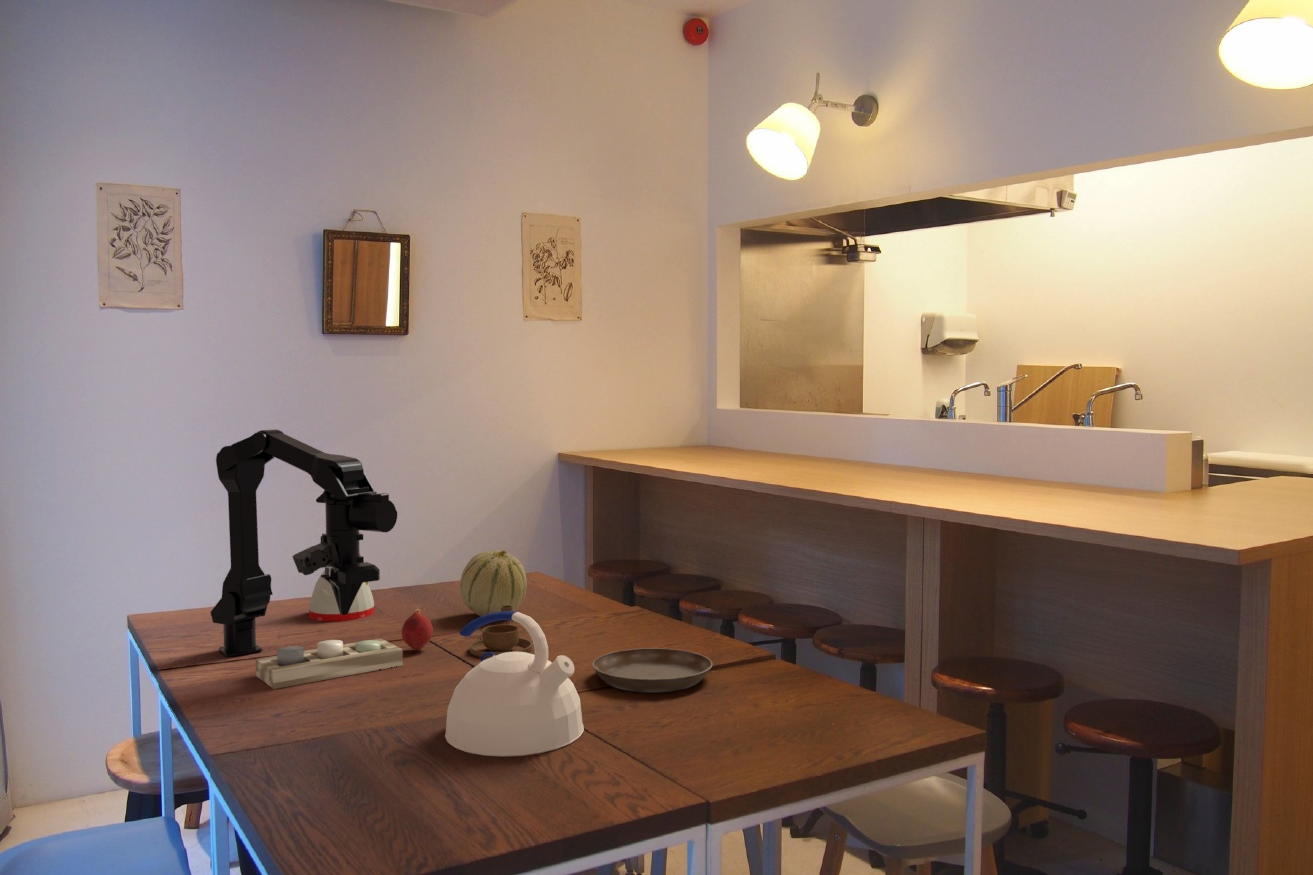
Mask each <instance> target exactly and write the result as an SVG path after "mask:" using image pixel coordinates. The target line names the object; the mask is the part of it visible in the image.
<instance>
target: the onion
mask: <svg viewBox="0 0 1313 875" xmlns="http://www.w3.org/2000/svg"><path fill="white" fill-rule="evenodd" d="M433 633H434V629H433V624H432V622H431V621H430V620H429V618H428V617H427V616H425V615H424V614H422V610H421V609H419V608H417V609H415V610H414V612H413V613H412V614H411V615H410V616H409V617H408V618H407V619H406V620H405V621H404V623H403V625H402V627H401V637H402V639H403V641H404V643H405V644H407V646H408V647H410V648H411V649H413V650H415V651H416V652H419V651H421V650H422V649H423V648H424V647H425V646H427V644H429V642H430V641H431V640H432V638H433Z"/></svg>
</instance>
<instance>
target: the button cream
mask: <svg viewBox="0 0 1313 875" xmlns="http://www.w3.org/2000/svg"><path fill="white" fill-rule="evenodd" d="M343 645H344V642H343V640H339V639H327V640H321V641H319V642H316V649H317V658H318V659H328V658H334V657H340V656H343Z"/></svg>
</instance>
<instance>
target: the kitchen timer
mask: <svg viewBox="0 0 1313 875" xmlns="http://www.w3.org/2000/svg"><path fill="white" fill-rule="evenodd" d="M321 575H325V570H323V571H322V573H321V574H320V576H319V577H318V579H317V581H316V583H315V584H314V589H313V591H312V594H311V598H310V602H309V608H308V610H309V611H308V613H309V615H308V616H309V617H308V618H310V619H311V620H313V619H314V621H318V622H319V621H320V622H345V621H346V622H347V621H353V620H354V619H355V620H359V619H358V618H361V619H364V617H365V618H368V617H370V616H369V615H371V616H373V615H374V614H375V600H374V597H373V593H372V590H371V588H370V584H369V582H363V583H362V585H361V587H360V589H359V591H358V593H357V595H356V597H355V599H354V601H353V603H352V606H351V608H350V610H349V612H348V614H347V615H341V614H340V612H339V608H338V605H337V602H336V599H335V595H334V592H333V589H332V586H331V584H330V583H328V582H327V581H326V580H325V579H323V578H322V577H321ZM373 613H374V614H373ZM367 616H368V617H367ZM355 620H354V621H355Z"/></svg>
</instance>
